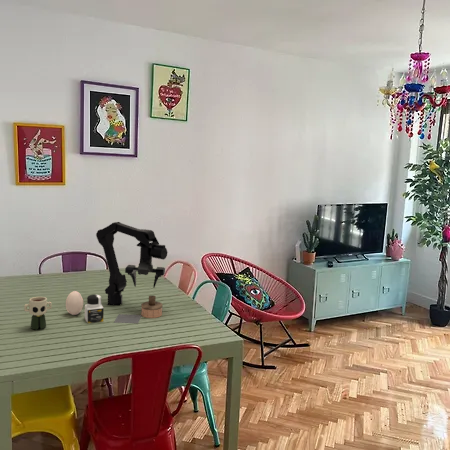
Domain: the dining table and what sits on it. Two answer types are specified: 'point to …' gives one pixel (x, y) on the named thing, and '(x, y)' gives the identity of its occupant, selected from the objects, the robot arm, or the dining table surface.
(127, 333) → the dining table surface
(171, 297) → the dining table surface
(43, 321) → the character mug
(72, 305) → the egg
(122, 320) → the mat
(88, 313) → the white boxy piece
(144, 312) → the bowl
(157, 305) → the lid
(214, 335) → the dining table surface
